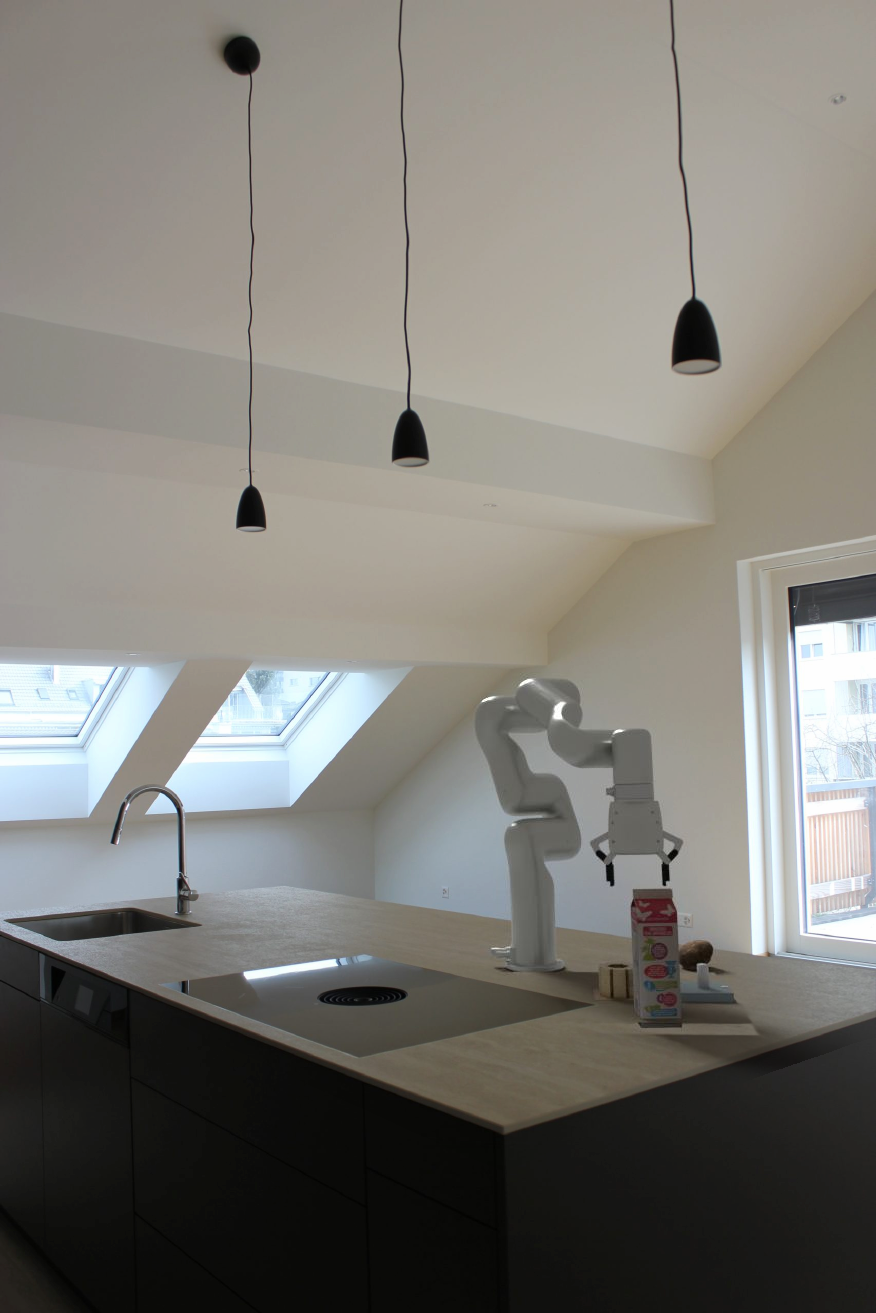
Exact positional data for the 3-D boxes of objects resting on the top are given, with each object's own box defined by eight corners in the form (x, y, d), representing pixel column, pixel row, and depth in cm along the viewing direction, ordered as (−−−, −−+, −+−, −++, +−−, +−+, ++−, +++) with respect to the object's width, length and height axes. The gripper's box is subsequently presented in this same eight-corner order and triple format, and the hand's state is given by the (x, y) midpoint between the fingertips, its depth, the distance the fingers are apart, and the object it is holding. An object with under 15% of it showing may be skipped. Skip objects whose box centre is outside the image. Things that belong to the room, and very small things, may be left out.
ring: (600, 998, 181) (599, 969, 181) (598, 989, 188) (597, 962, 188) (640, 998, 180) (638, 969, 181) (636, 989, 187) (635, 962, 188)
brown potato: (718, 948, 217) (703, 926, 216) (725, 970, 210) (709, 947, 208) (685, 965, 219) (670, 943, 218) (690, 987, 211) (675, 964, 210)
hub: (681, 1010, 177) (680, 969, 178) (675, 998, 186) (674, 959, 187) (734, 1010, 176) (732, 969, 177) (725, 998, 185) (724, 959, 186)
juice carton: (634, 1017, 173) (629, 886, 175) (674, 1017, 172) (668, 886, 175) (641, 1027, 166) (636, 891, 168) (682, 1027, 166) (676, 890, 168)
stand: (595, 1008, 180) (594, 976, 180) (593, 996, 189) (592, 966, 189) (646, 1008, 179) (645, 976, 179) (642, 997, 188) (641, 966, 188)
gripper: (586, 795, 190) (590, 887, 188) (680, 793, 186) (686, 887, 184) (589, 794, 197) (593, 883, 195) (680, 792, 194) (685, 883, 192)
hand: (638, 885), depth 190 cm, fingers open, 9 cm apart
